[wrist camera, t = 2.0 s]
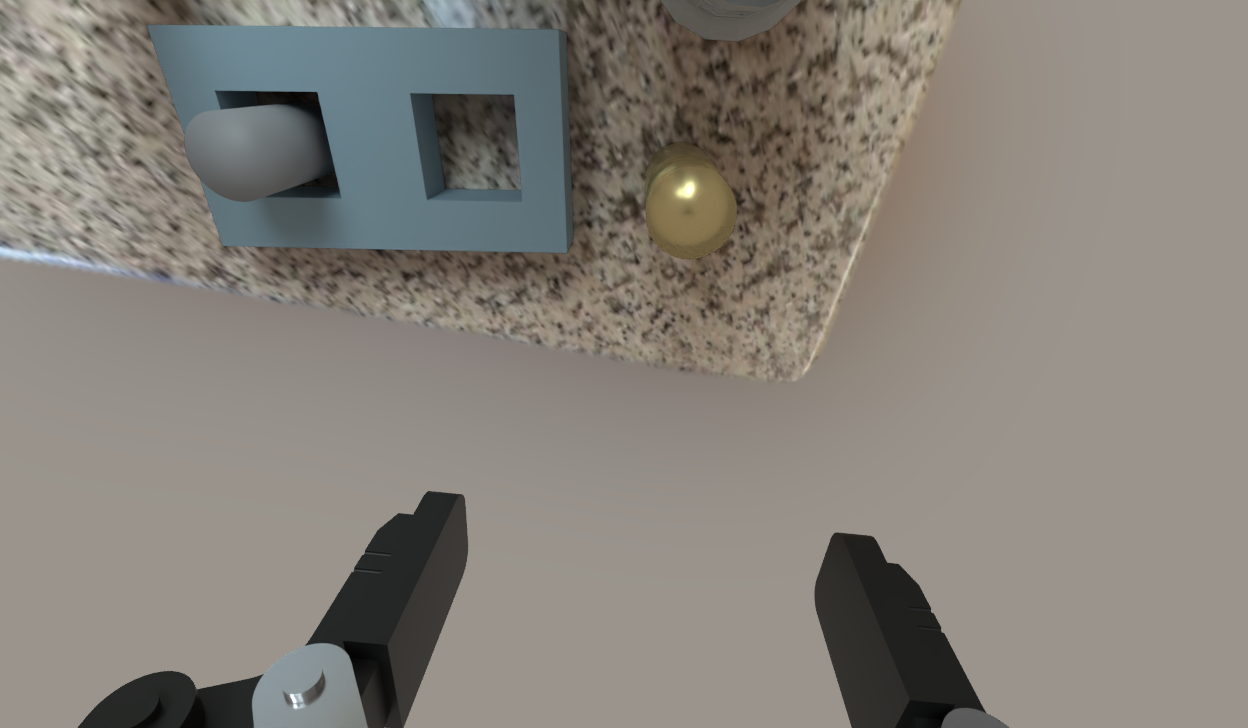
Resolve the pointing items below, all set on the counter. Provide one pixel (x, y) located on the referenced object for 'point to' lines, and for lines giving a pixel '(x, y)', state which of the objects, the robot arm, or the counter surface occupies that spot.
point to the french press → (728, 16)
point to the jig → (368, 134)
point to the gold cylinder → (687, 202)
